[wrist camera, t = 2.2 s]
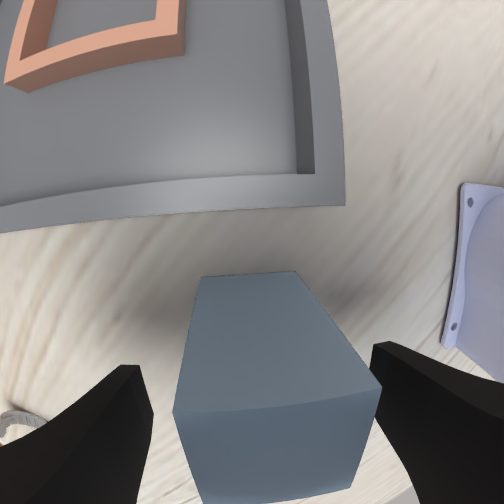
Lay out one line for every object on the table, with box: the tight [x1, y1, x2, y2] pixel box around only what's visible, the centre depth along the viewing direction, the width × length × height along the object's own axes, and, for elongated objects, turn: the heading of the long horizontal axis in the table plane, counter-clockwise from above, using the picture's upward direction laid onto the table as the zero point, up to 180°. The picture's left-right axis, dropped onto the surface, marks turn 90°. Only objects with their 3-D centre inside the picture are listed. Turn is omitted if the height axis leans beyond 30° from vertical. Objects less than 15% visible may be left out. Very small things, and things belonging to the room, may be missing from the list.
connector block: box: [172, 271, 382, 504], centre depth 9 cm, size 4×4×8 cm
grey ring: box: [0, 410, 47, 438], centre depth 11 cm, size 3×5×5 cm, turn 73°
